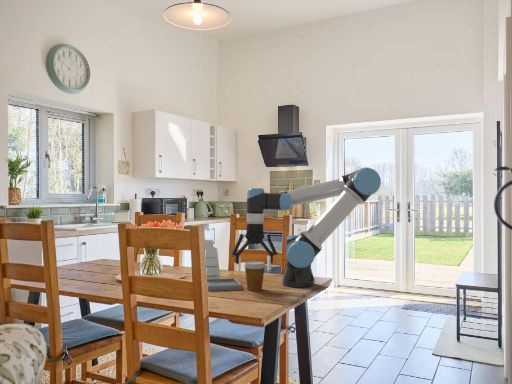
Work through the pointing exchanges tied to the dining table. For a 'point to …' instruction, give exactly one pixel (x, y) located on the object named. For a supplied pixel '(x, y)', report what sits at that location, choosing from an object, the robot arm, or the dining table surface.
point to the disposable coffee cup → (254, 275)
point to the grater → (211, 260)
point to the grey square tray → (223, 284)
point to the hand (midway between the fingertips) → (254, 270)
